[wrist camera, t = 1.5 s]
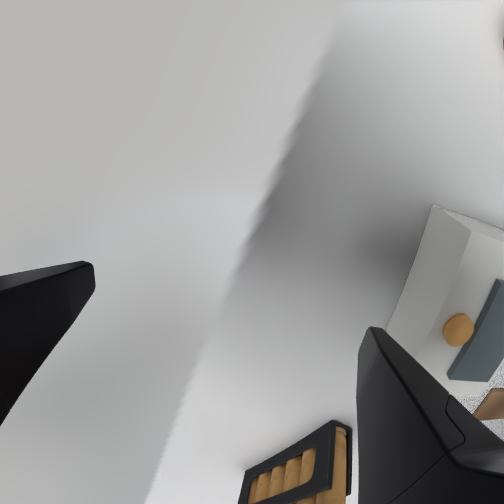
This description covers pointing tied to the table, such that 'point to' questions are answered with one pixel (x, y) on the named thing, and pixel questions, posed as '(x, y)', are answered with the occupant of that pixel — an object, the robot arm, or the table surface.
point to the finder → (455, 303)
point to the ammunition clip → (304, 471)
